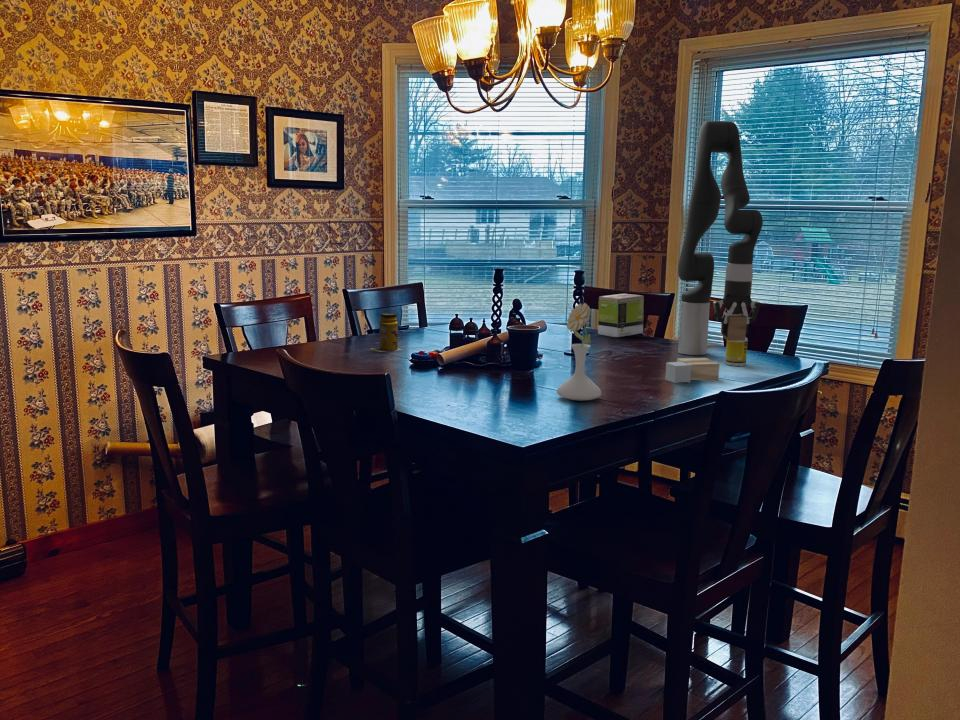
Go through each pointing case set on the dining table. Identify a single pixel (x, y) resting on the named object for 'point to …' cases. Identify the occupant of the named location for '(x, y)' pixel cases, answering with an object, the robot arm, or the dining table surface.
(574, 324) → the flower in vase
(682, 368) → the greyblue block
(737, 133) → the robot arm
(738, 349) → the pill bottle
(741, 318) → the walnut block
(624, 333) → the tea box
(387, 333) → the condiment
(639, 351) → the dining table surface
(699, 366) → the maple block
